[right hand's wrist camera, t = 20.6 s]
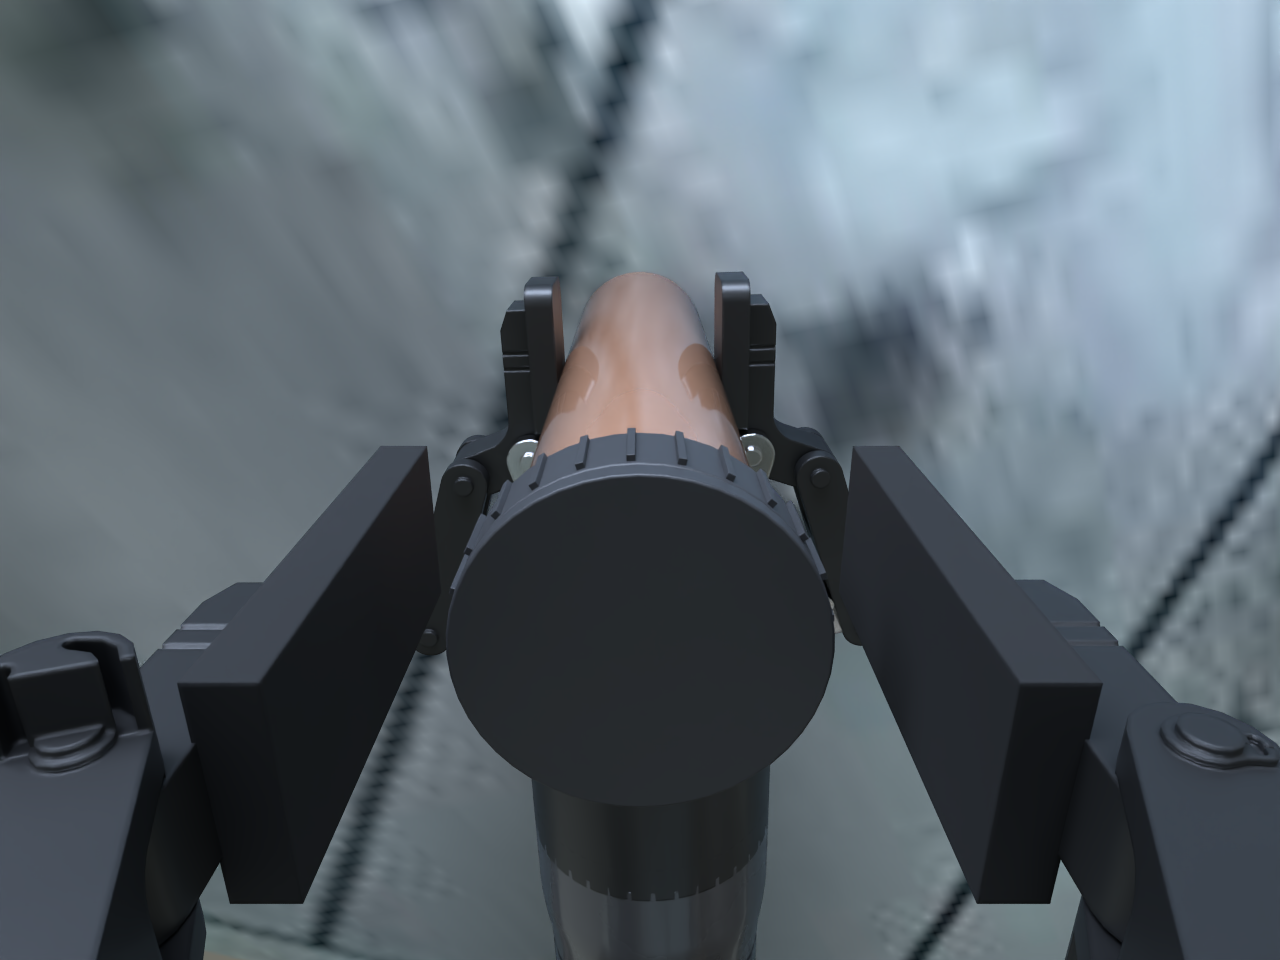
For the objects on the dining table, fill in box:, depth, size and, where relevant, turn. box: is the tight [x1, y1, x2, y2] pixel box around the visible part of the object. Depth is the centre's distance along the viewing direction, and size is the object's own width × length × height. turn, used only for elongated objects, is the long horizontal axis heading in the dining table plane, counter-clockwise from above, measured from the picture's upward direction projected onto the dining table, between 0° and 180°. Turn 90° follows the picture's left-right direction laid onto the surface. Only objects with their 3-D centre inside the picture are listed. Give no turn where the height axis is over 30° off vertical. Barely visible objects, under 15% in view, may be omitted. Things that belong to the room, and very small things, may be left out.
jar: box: [529, 272, 752, 469], centre depth 20 cm, size 4×4×18 cm
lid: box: [446, 428, 835, 807], centre depth 11 cm, size 5×5×2 cm
